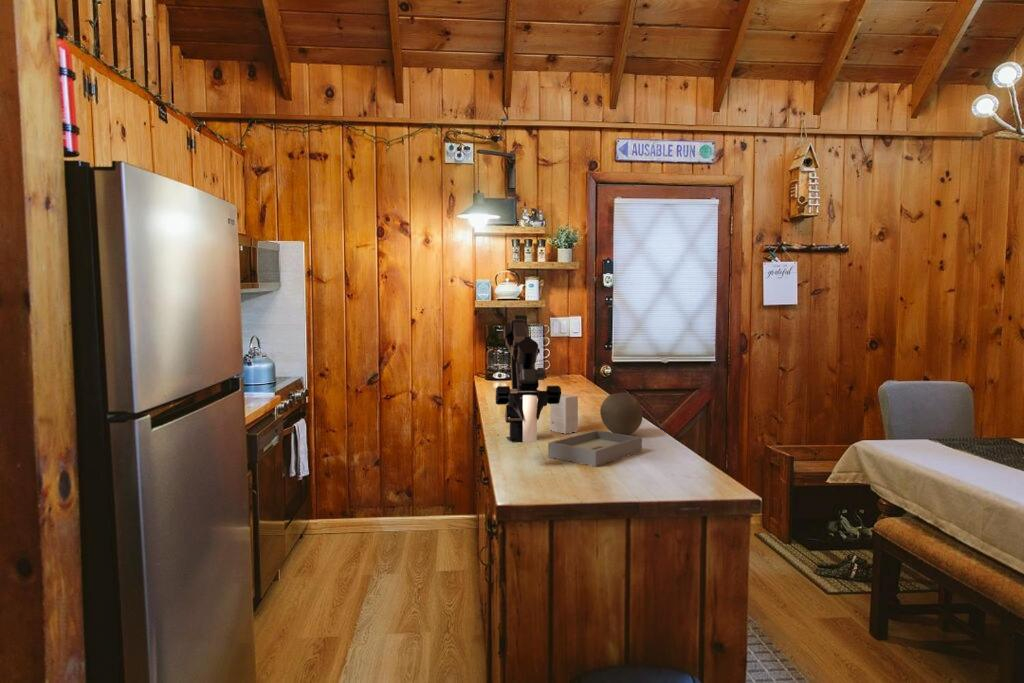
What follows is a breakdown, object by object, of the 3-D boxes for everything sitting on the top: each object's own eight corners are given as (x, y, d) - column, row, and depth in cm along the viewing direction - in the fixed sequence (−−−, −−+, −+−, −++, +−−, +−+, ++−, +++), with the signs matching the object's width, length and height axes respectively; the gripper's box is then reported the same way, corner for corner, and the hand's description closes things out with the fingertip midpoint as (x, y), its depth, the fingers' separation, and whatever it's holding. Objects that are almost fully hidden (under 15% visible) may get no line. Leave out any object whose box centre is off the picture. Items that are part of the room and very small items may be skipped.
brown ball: (609, 430, 236) (610, 389, 235) (647, 434, 229) (648, 391, 228) (594, 437, 224) (594, 393, 223) (633, 441, 217) (633, 397, 216)
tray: (548, 457, 195) (548, 442, 195) (596, 443, 214) (596, 430, 214) (595, 466, 184) (595, 451, 184) (641, 451, 203) (641, 437, 202)
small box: (578, 432, 233) (578, 395, 232) (565, 434, 229) (565, 397, 228) (562, 428, 239) (562, 393, 238) (549, 431, 235) (549, 395, 234)
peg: (520, 440, 187) (520, 395, 186) (533, 439, 188) (533, 394, 188) (525, 443, 183) (525, 397, 182) (538, 442, 185) (538, 396, 184)
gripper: (496, 358, 187) (498, 402, 177) (560, 357, 189) (566, 401, 179) (494, 382, 196) (496, 425, 186) (556, 381, 197) (561, 424, 187)
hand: (530, 419), depth 184 cm, fingers closed on peg, 4 cm apart
